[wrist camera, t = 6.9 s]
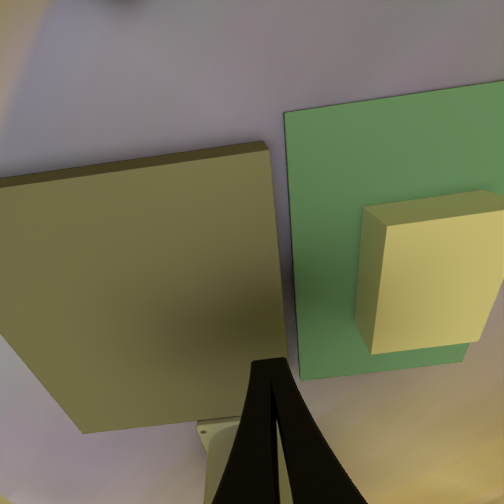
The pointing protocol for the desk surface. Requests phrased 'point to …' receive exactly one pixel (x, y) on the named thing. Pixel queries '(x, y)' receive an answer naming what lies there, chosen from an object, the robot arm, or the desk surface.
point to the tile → (429, 270)
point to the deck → (144, 284)
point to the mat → (376, 203)
